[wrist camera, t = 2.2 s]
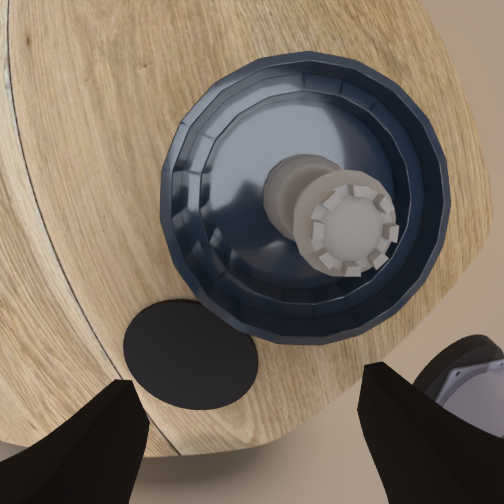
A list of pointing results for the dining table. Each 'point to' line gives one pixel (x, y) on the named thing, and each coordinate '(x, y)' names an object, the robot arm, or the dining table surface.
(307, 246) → the rook chess piece
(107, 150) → the dining table surface
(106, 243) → the dining table surface
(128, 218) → the dining table surface
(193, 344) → the coaster
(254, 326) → the bowl
